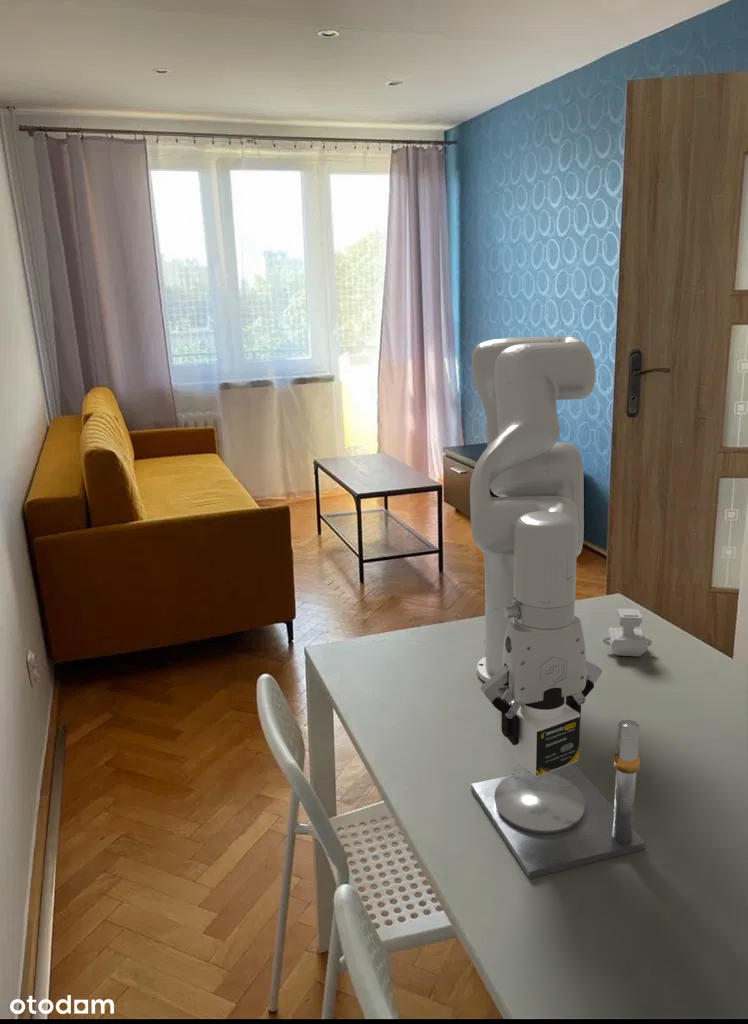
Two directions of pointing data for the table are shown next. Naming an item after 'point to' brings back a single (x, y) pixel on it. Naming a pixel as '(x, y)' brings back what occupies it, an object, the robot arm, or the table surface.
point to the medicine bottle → (546, 734)
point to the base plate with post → (566, 812)
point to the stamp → (628, 634)
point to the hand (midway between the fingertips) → (541, 732)
